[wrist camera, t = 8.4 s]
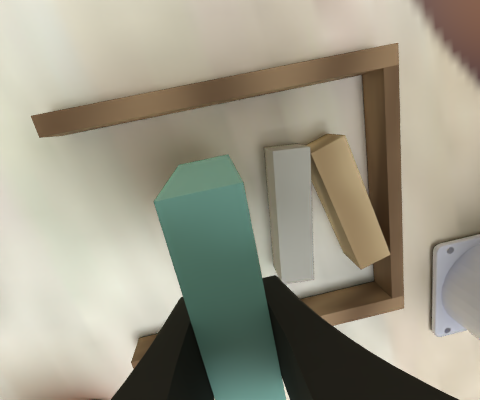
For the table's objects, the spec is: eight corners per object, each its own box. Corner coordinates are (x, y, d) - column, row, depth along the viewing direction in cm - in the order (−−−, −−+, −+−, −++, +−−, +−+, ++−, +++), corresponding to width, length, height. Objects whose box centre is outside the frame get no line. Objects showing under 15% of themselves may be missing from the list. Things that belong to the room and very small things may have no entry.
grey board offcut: (295, 143, 16) (310, 146, 14) (300, 259, 19) (314, 279, 16) (263, 147, 16) (272, 151, 14) (272, 263, 19) (282, 284, 16)
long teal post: (228, 154, 11) (243, 181, 6) (268, 346, 14) (299, 467, 9) (178, 164, 11) (153, 201, 6) (230, 356, 14) (241, 483, 9)
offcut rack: (374, 52, 15) (398, 42, 13) (385, 290, 20) (404, 308, 18) (54, 116, 14) (30, 116, 12) (143, 349, 19) (135, 374, 17)
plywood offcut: (325, 133, 16) (345, 135, 14) (367, 237, 19) (390, 254, 16) (296, 149, 17) (311, 153, 14) (341, 251, 19) (361, 269, 16)
